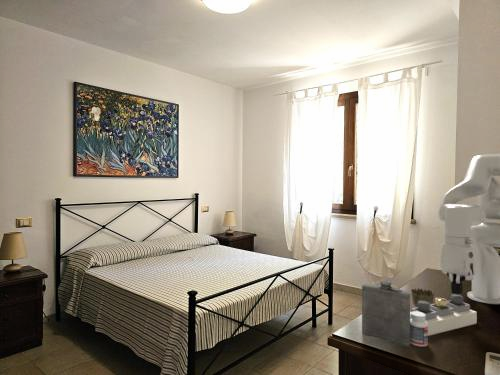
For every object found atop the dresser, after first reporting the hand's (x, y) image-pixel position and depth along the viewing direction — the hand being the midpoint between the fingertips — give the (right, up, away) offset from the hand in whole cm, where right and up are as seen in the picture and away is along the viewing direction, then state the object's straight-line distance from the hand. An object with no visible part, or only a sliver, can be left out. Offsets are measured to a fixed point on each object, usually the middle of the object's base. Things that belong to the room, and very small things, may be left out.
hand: (456, 293), depth 116 cm
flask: (-30, -10, -12) cm, 34 cm away
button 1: (-15, -4, -6) cm, 16 cm away
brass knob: (-7, -4, -3) cm, 9 cm away
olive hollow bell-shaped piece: (-8, -10, +7) cm, 15 cm away
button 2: (0, -4, 0) cm, 4 cm away
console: (-7, -10, -3) cm, 12 cm away
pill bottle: (-21, -10, -15) cm, 28 cm away
